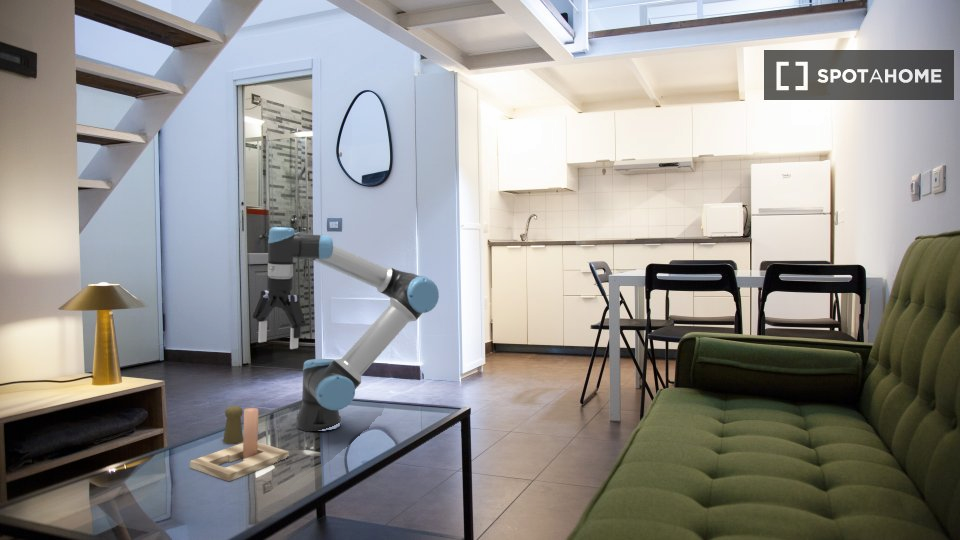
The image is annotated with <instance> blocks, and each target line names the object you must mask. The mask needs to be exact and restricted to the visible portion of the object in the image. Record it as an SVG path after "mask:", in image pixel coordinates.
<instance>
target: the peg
mask: <svg viewBox="0 0 960 540" xmlns="http://www.w3.org/2000/svg"><path fill="white" fill-rule="evenodd" d="M258 434H259V408H257V407H248V408H244V409H243V441H242V443H243V458H242V460H243V459H246V458H248V457H251V456H254V455H257V445H258V442H259V441H258V440H259V437H258V436H259V435H258Z"/></svg>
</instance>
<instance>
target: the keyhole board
mask: <svg viewBox="0 0 960 540" xmlns="http://www.w3.org/2000/svg"><path fill="white" fill-rule="evenodd" d="M289 454H290V452H289V451H288V450H284V449H282V448H278V447H276V446H272V445H269V444H265V443H262V442H259V441H258V445H257V455H254V456H251V457H248V458H246V459H243V442H241V443H237V444H234V445H233V446H230V447H227V448H224V449H220V450H217V451H216V452H211V453H209V454H206V455H203V456H201V457H198V458H194V459H192V460H189V461H190V462H189V468H190V469H193V470H195V471H198V472H200V473H203V474H206V475H209V476H212V477H216V478H218V479H221V480H224V481H227V482H232V481H234V480H237V479H239V478H242V477H244V476H247V475H249V474H251V473H254V472H258V471H259V470H262V469H264V468H267V467H270V466H273V465H274V463H275V462H277V461H279V460H281V459H283V458H285V457H287V456H290V455H289ZM240 459H242V461H240V462H237V463H234V464H232V465H229V466H227V467H225V466H221V465H222V464H225V463H228V462H229V463H232V462H235V461H238V460H240ZM277 463H278V462H277ZM275 464H276V463H275Z"/></svg>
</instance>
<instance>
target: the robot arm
mask: <svg viewBox="0 0 960 540" xmlns="http://www.w3.org/2000/svg"><path fill="white" fill-rule="evenodd" d="M268 233H269V234H268V242H267V243H268V246H267V247H268V248H267V249H268V251H267V252H268V253H267V277H268V278H267V280H266V285H267V286H266V289H267V290H261V292H260V296H259V299H258V302H257V305H256V307H255V310H254V312H253V314H252V319H256V321H257V332H258V340H257V342H258V343H264V342H265V343H266V342H267V341H268V340H267V339H268V338H267V336H268V335H267V334H268V321H267V318H268V316H269V315H270V314H271V312H272V311H273V309H274V308H278V309H279V308H280V309H281V310H282V311H284V312H285V315H286V316H287V318H288V320H289V323H290V325H291V327H290V331H289V332H290V335H289V336H290V337H289V338H290V339H289V349H290V350H294V349H295V350H296V349H298V348H299V338H300V337H301V327H305V326H306V324H307V323H306V320H305V317H304V314H303V310H302V306H301V304H300V297H299V295H298V294H291V291H292V290H293V281H294V280H293V278H292V277H293V276H294V259H309V260H312V261H314V262H316V263H319V264H321V265H323V266H325V267H328V268H329V269H332V270H334V271H337V272H339V273H342V274H344V275H346V276H348V277H351V278H353V279H355V280H358V281H360V282H362V283H365V284H366V285H369V286H371V287H373V288H376V290H377V292H378V293H381V294H383V295H385V296H387V297H388V298H389V306H387V308H386V309H385V310H384V311H383V312H382V313H381V314H380V315H379V317H378V318H377V319H376V320H375V321H374V322H373V323H371V325H370V327H368V329H367V330H366V331H365V332H364V333H363V334H362V336H361V337H360V338H359V339H358V340H357V341H356V342H355V343H354V345H352V347H351V348H350V349H349V350H348V351H347V352H346V353H345V355H344V356H342V358H338V359H335V358H334V359H332V358H314V359H307V360H305V361H304V362H303V368H302V392H301V393H302V394H301V397H302V399H301V406H300V408H299V411H298V414H297V417H296V419H295V427H296V428H297V429H299V430H300V431H301V430H302V431H304V432H305V431H306V432H309V431H318V430H322V429H326V428H329V427H332V426H334V425H336V424H338V423H340V422H341V423H342V418H341V415H340V412H339V410H343V409H345V408H347V407H348V406H349V405H350V404H351V403H352V402H353V401H354V398H355V395H356V389H358V388H359V386H360V385H361V384H362V376H363V374H364V373H365V372H366V371H367V370H368V369H369V368H370V366H371V365H372V364H373V363H374V362H375V361H376V360H377V358H378V357H380V355H381V354H382V353H383V352H384V350H385V349H386V348H387V347H388V346H389V345H390V344H392V343H391V342H393V340H394V339H395V338H396V337H397V336H398V335H399V333H400V332H401V331H402V330H404V328H405V327H406V326H407V325H408V323H410V322H416V321H417V320H418V319H419V318H420V317H421V315H422V314H425V313H429V312H431V311H432V310H433V309H434V308H435V307H436V306H437V304H438V303H439V297H440V296H439V295H440V294H439V289H438V286H437V284H436V283H435V281H433V280H431V279H430V278H428V277H426V276H423V275H418V274H415V273H413V272H412V273H411V272H406V271H401V270H399V269H395V268H393V267H391V266H388V267H383V266H382V265H380V264H377V263H374V262H372V261H370V260H368V259H366V258H363V257H362V256H360V255H356V254H355V253H352V252H351V251H348V250H346V249H343V248H341V247H339V246H336V245H334V243H333V242H334V240H333V238H332V237H331V236H330V235H323V234H312V233H307V232H306V231H299V232H295V228H293V227H284V226H282V227H280V226H274V227H273V226H272V227H271V228H270V229H269V231H268Z"/></svg>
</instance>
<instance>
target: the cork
mask: <svg viewBox="0 0 960 540" xmlns="http://www.w3.org/2000/svg"><path fill="white" fill-rule="evenodd" d="M224 412H225V413H224V415H225V417H226V422H225V428H224V434H223V440H222V443H224V444H225V445H226V444H227V445H238V444H241V443H243V435H244V433H243V425H242V416H243V414H244V409H242V407H241V406H239V405H233V406H232V405H231V406H228V407H227V408H226V409H225V411H224Z"/></svg>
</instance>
